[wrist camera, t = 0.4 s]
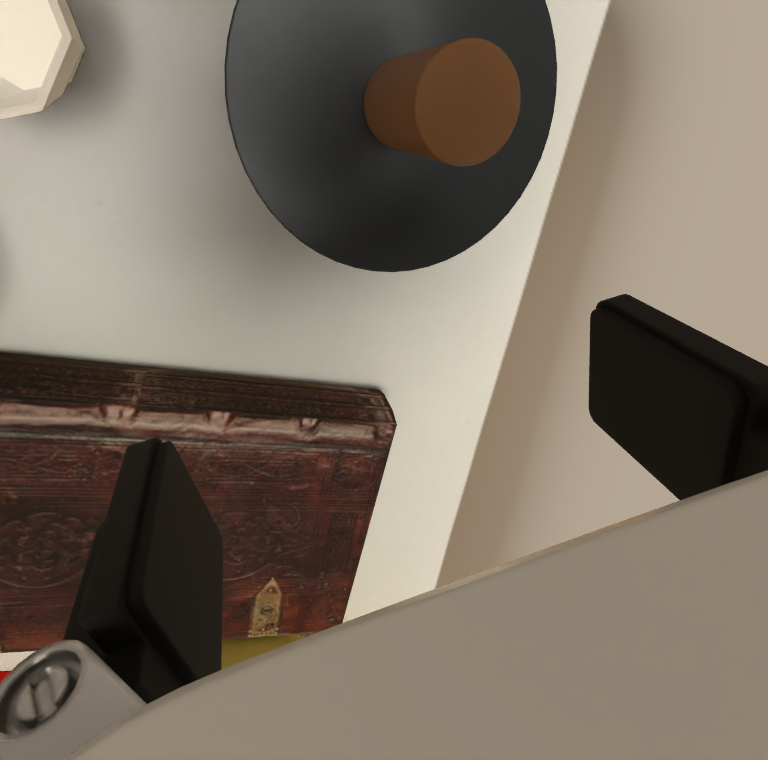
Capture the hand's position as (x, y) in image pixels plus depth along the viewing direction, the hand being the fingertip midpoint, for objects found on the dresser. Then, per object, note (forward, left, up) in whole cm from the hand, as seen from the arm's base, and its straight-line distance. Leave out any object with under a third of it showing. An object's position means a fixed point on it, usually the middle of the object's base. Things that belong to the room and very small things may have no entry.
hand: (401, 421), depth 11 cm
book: (+14, -15, -22) cm, 30 cm away
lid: (-5, +3, -8) cm, 10 cm away
